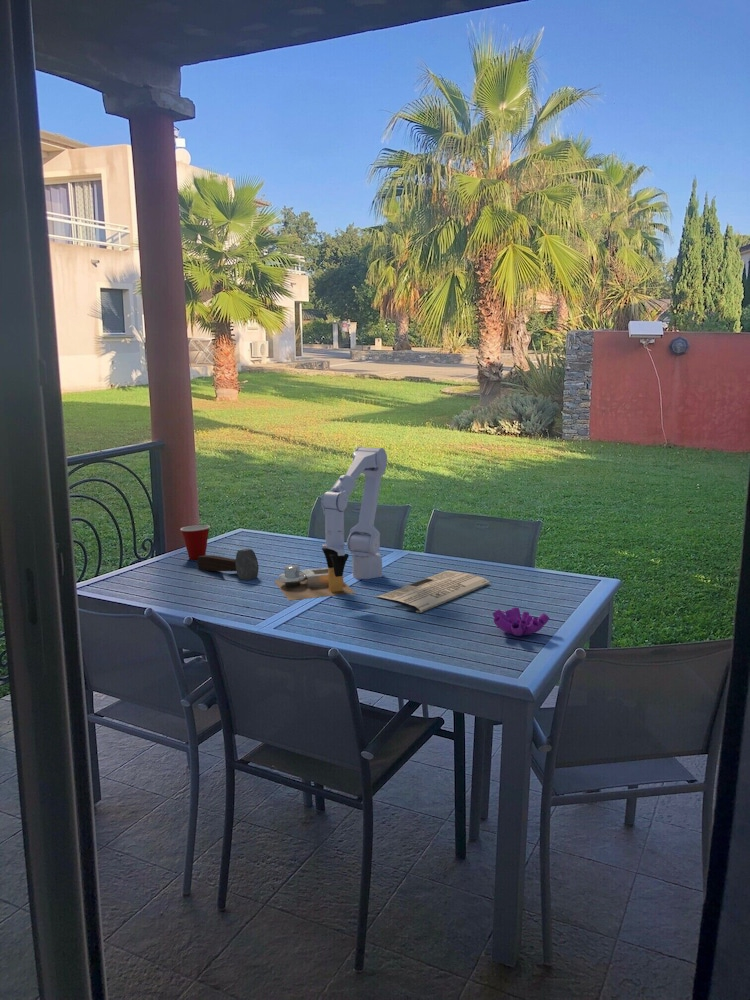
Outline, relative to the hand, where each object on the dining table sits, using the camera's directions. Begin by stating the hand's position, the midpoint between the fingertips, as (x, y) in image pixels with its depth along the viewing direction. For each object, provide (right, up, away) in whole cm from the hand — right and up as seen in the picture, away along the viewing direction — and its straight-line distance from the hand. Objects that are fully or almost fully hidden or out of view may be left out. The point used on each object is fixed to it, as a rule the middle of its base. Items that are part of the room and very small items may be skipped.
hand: (335, 573), depth 244 cm
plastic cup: (-54, +1, +47) cm, 71 cm away
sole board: (-7, -6, +5) cm, 11 cm away
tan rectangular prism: (0, -5, +1) cm, 6 cm away
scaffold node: (-9, -4, +9) cm, 13 cm away
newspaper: (+31, -7, +2) cm, 32 cm away
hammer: (-38, -4, +24) cm, 45 cm away
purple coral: (+50, -13, -34) cm, 62 cm away
